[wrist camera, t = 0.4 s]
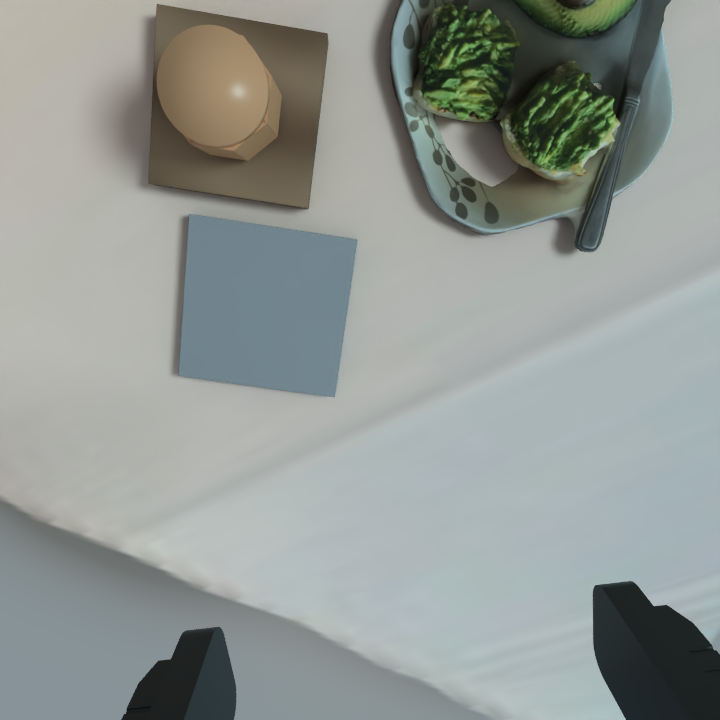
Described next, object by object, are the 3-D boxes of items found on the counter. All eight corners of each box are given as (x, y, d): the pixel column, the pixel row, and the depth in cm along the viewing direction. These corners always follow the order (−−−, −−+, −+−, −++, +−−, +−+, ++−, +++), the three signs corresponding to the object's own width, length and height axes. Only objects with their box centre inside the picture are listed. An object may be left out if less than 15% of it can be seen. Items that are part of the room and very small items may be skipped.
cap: (189, 49, 30) (159, 15, 25) (284, 65, 30) (272, 35, 26) (183, 150, 31) (153, 136, 27) (274, 165, 31) (261, 153, 27)
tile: (193, 214, 34) (189, 214, 33) (357, 239, 35) (357, 239, 34) (183, 372, 37) (178, 375, 36) (335, 392, 37) (334, 397, 36)
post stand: (165, 14, 31) (123, -36, 25) (328, 42, 32) (323, -1, 26) (157, 185, 34) (116, 175, 28) (308, 208, 34) (299, 204, 28)
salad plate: (695, 217, 35) (745, 215, 31) (443, 291, 36) (456, 300, 31) (653, -107, 30) (705, -166, 26) (365, -12, 31) (368, -52, 27)
